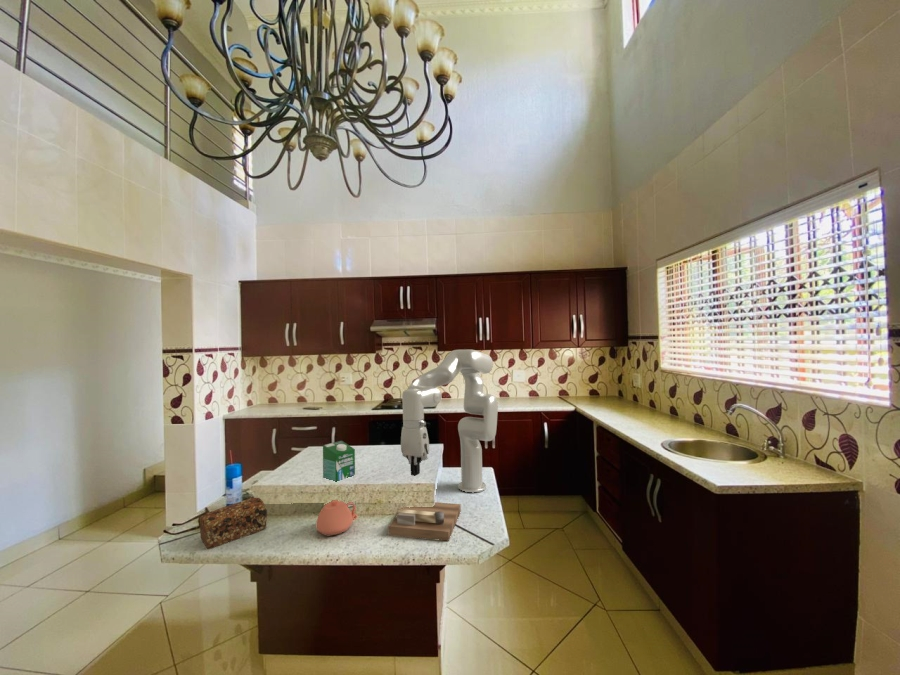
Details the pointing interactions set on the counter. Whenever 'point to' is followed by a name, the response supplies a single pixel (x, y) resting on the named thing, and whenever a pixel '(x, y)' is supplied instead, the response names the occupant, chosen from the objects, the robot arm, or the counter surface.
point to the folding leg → (425, 516)
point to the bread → (233, 522)
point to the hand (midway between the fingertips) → (415, 474)
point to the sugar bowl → (335, 517)
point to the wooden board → (426, 523)
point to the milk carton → (338, 461)
